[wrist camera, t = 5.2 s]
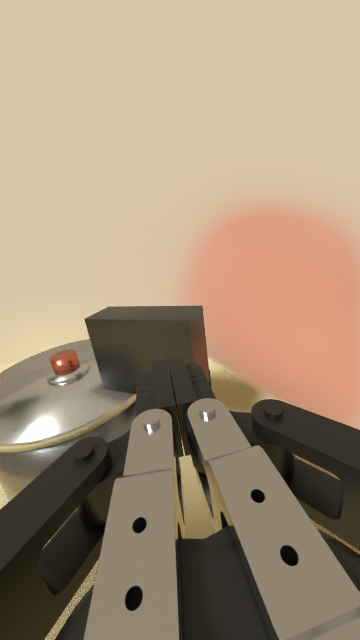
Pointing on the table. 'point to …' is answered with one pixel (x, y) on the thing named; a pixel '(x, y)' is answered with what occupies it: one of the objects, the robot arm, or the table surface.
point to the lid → (94, 373)
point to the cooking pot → (55, 454)
